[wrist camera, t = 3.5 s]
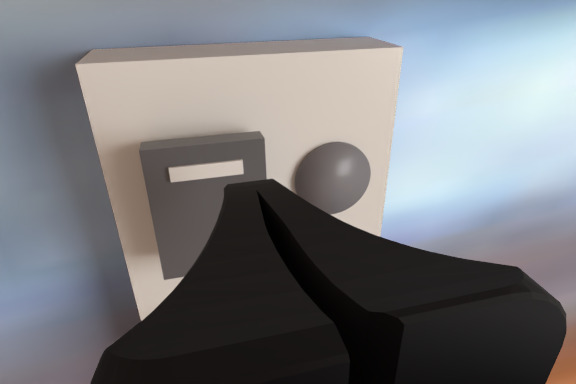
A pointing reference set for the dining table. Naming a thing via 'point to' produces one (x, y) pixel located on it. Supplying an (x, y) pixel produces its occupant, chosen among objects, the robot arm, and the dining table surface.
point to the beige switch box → (245, 125)
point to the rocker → (194, 189)
